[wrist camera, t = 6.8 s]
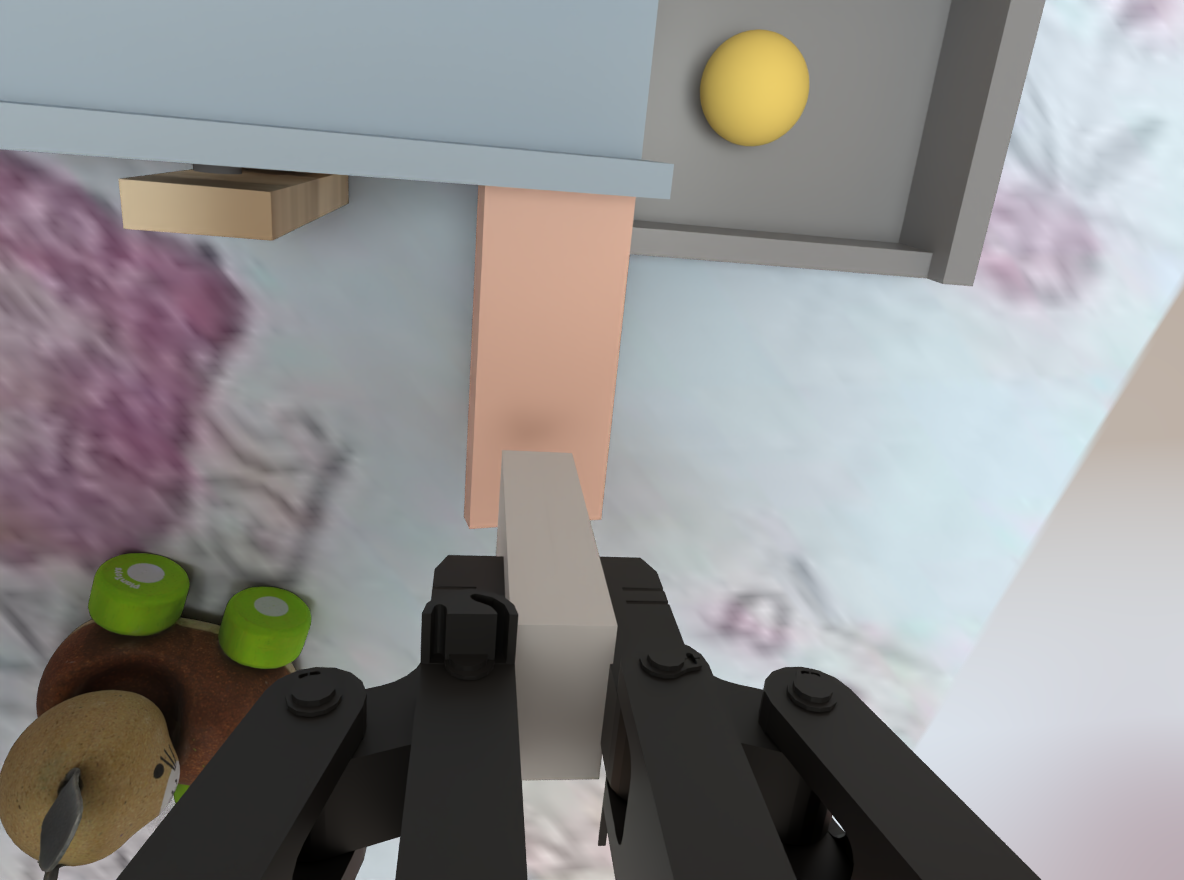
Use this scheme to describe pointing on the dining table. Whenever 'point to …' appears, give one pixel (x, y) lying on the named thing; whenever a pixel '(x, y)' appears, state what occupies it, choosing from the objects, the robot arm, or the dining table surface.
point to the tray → (842, 136)
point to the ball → (754, 87)
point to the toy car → (138, 707)
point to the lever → (397, 156)
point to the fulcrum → (230, 201)
